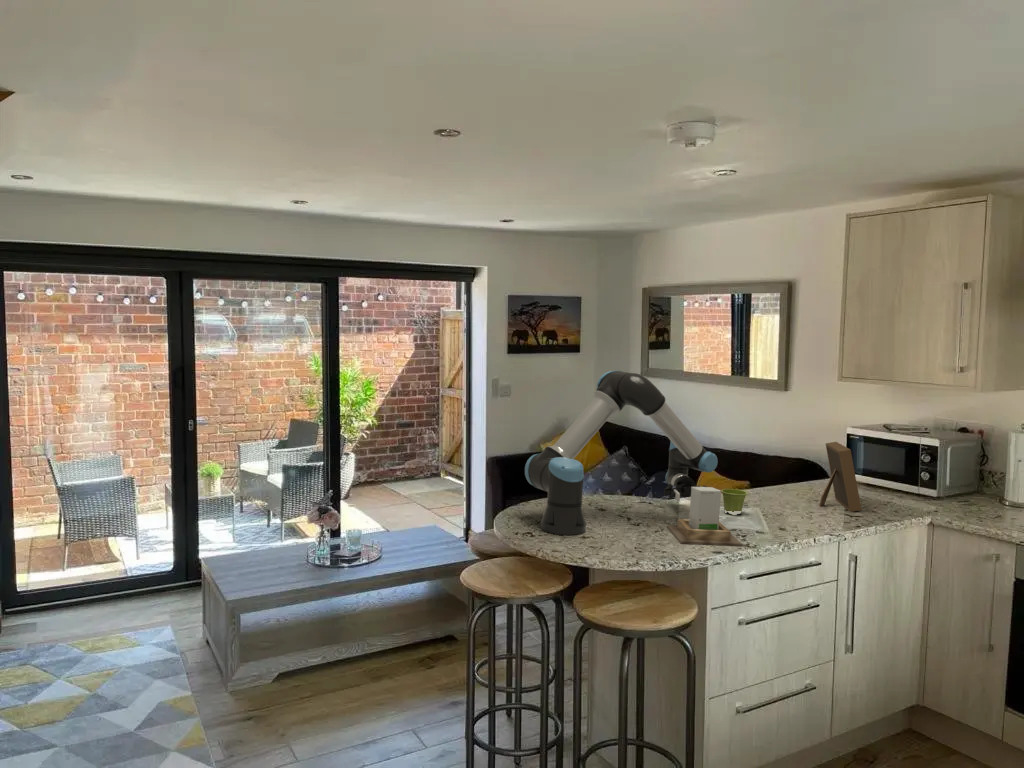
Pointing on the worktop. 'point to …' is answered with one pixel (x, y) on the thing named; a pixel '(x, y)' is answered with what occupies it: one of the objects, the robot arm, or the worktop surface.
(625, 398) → the robot arm
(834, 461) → the photo frame
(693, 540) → the socket board
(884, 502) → the worktop surface
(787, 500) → the worktop surface
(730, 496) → the plant pot
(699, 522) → the skincare box
